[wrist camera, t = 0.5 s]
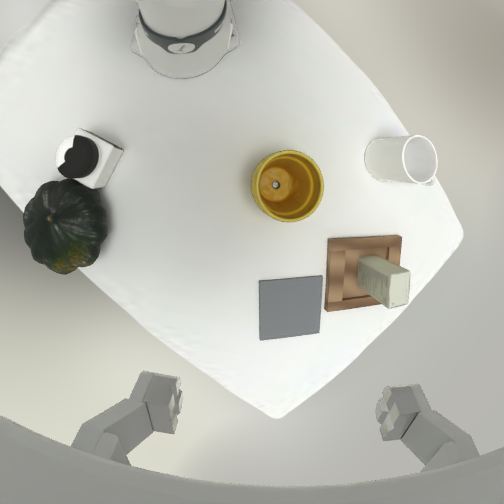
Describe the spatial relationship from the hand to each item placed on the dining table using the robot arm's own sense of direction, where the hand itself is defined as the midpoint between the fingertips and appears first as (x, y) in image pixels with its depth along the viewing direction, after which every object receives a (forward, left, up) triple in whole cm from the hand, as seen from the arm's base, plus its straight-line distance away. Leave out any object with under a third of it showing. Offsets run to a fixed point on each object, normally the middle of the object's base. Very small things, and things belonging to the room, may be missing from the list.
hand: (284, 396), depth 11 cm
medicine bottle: (-12, -20, -44) cm, 50 cm away
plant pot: (-6, +10, -44) cm, 46 cm away
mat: (+17, +13, -44) cm, 49 cm away
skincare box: (+10, +29, -43) cm, 53 cm away
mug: (-10, +33, -44) cm, 56 cm away
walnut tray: (+11, +28, -44) cm, 53 cm away
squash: (-2, -25, -44) cm, 51 cm away
